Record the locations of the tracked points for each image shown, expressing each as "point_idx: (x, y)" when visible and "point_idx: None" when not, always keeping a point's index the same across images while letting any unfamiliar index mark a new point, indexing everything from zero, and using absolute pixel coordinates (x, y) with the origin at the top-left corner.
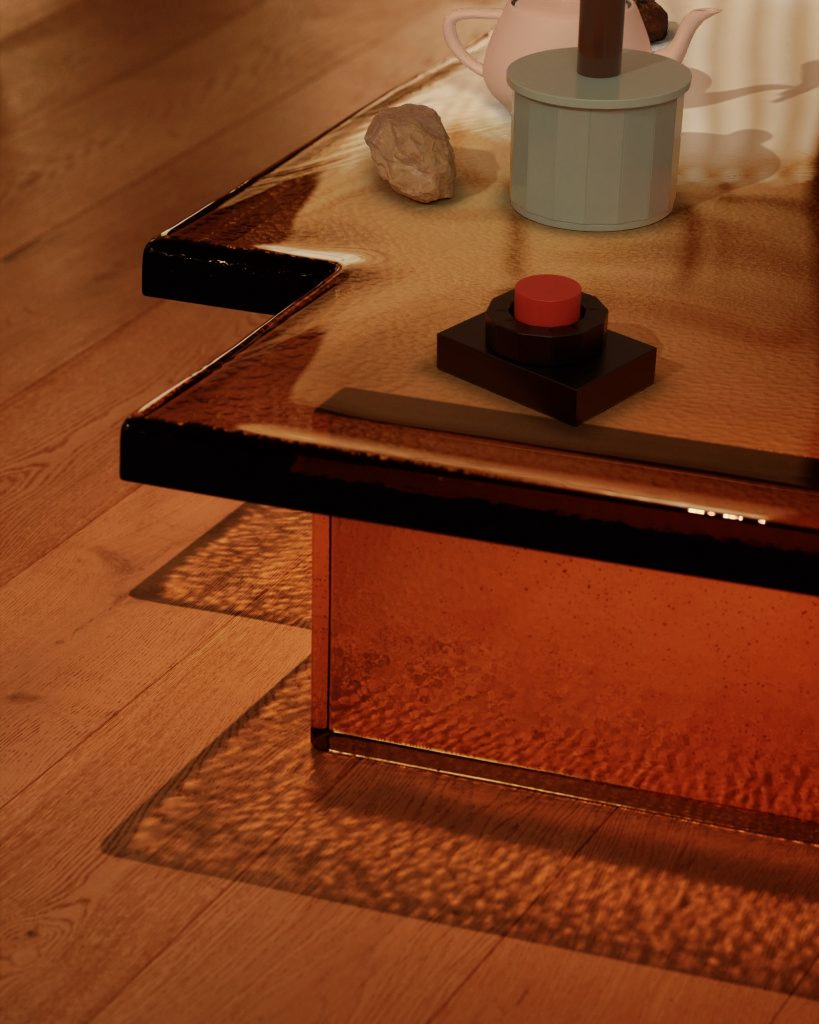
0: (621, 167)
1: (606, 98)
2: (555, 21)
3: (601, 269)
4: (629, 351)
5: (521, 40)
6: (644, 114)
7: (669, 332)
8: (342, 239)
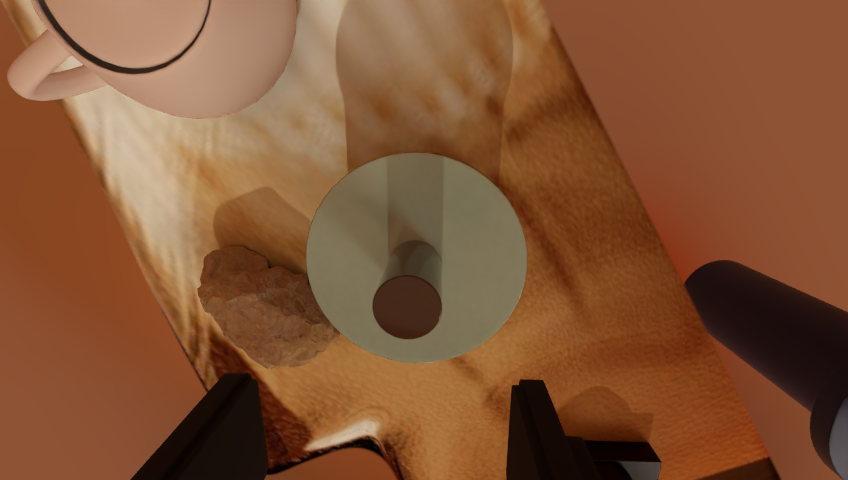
0: None
1: (483, 334)
2: (179, 71)
3: (518, 332)
4: (649, 476)
5: (162, 99)
6: None
7: (618, 382)
8: (337, 407)
